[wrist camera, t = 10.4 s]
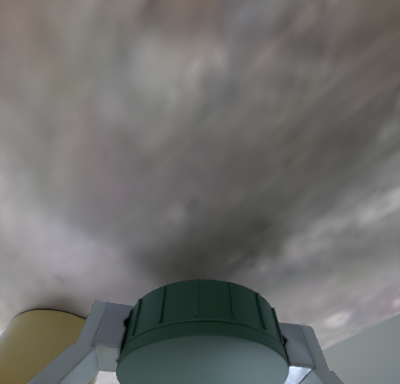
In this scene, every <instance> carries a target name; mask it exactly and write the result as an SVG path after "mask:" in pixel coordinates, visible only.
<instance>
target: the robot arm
mask: <svg viewBox="0 0 400 384" xmlns="http://www.w3.org/2000/svg"><path fill="white" fill-rule="evenodd" d="M132 309H133V305H124V304H115V303H109V302H100V301H95V303H94V304H93V306H92V308H91V310H90V313H89V315H88V317H87V320H86V322H85V324H84V326H83V329H82V331H81V333H80V336H79V338H78V340H77V342H76V344H71V345H70V346H69V347H68V348H67V349H66V350H64V351H63V352H62V353H61V354H60V355H59V356H58V357H57V358H55V359H54V360H53V361H52V362H51V363H50V364H49V365H47V366H46V367H45V368H44V369H43V370H42V371H41V372H40V373H38V374H37V375H36V376H35V377H34V378H33V379H32V380H31V381H29V382H28V383H27V384H88V383H89V382H90V381H91V380H92V379H93V378H94V376H95V375H96V374H97V373H98V371H109V372H116V368H117V364H118V360H119V357H120V354H121V350H122V346H123V342H124V338H125V334H126V327H125V326H127V324H128V321H129V319H130V315H131V311H132ZM278 323H279V322H278ZM279 326H280V330H281V333H282V337H283V340H284V344H283V346H284V350H285V354H286V357H287V361H288V364H289V375H288V378H287V380H286V381H285V383H284V384H344V383H343V382H342V381H341V380H340V379H339V377H338V376H337V375H336V374H335V373H334V372H333V371H329V368H328V366H327V363H326V361H325V358H324V356H323V353H322V351H321V348H320V345H319V343H318V340H317V338H316V335H315V333H314V330H313V329H312V327H310V326H307V325H298V324H289V323H279Z"/></svg>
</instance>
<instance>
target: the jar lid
mask: <svg viewBox="0 0 400 384" xmlns="http://www.w3.org/2000/svg"><path fill="white" fill-rule="evenodd" d="M125 327H126V334H125V338H124V342H123V346H122V350H121V354H120V357H119V360H118V364H117V368H116V375H117V379H118V381H119V383H120V384H284V383H285V381H286V380H287V378H288V375H289V364H288V361H287V357H286V354H285V350H284V346H283V344H284V340H283V337H282V333H281V330H280V326H279V323H278V319H277V316H276V312H275V309H274V308H272V307H271V306H270V304H269V303H268V302H267V301H266V300H265V299H264V298H263V297H262V296H261V295H259V293H256V292H255V291H253V290H251V289H249V288H246V287H244V286H241V285H238V284H235V283H231V282H226V281H218V280H198V279H197V280H188V281H181V282H176V283H172V284H169V285H166V286H163V287H160V288H158V289H156V290H153V291H151V292H150V293H148V294H147V295H145V296H144V297H142V298H141V299H139V300H138V302H137V303H136V304H135V306H134V307H133V309H132V311H131V315H130V319H129V321H128V324H127V326H125Z"/></svg>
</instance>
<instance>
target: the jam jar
mask: <svg viewBox="0 0 400 384" xmlns="http://www.w3.org/2000/svg"><path fill="white" fill-rule="evenodd" d="M85 322H86V320H85V319H83V318H81V317H78V316H76V315H73V314H69V313H65V312H61V311H54V310H32V311H27V312H24V313H21V314H19V315H17V316H16V317H15V318H13V319H12V320H11V322H10V323H9V325H8V326H7V327H6V329H5V330H4V332H3V333H2V335H1V336H0V384H27V383H28V382H29V381H31V380H32V379H33V378H34V377H35V376H36V375H37V374H38V373H40V372H41V371H42V370H43V369H44V368H45V367H46V366H47V365H49V364H50V363H51V362H52V361H53V360H54V359H55V358H57V357H58V356H59V355H60V354H61V353H62V352H63V351H64V350H66V349H67V348H68V347H69V346H70V345H71V344H76V342H77V340H78V338H79V336H80V333H81V331H82V329H83V326H84V324H85ZM98 373H99V371H98ZM98 373H97V374H96V375H95V376H94V378H93V379H92V380H91V381H90V382H89V383H88V384H95V382H96V379H97V376H98Z"/></svg>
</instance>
